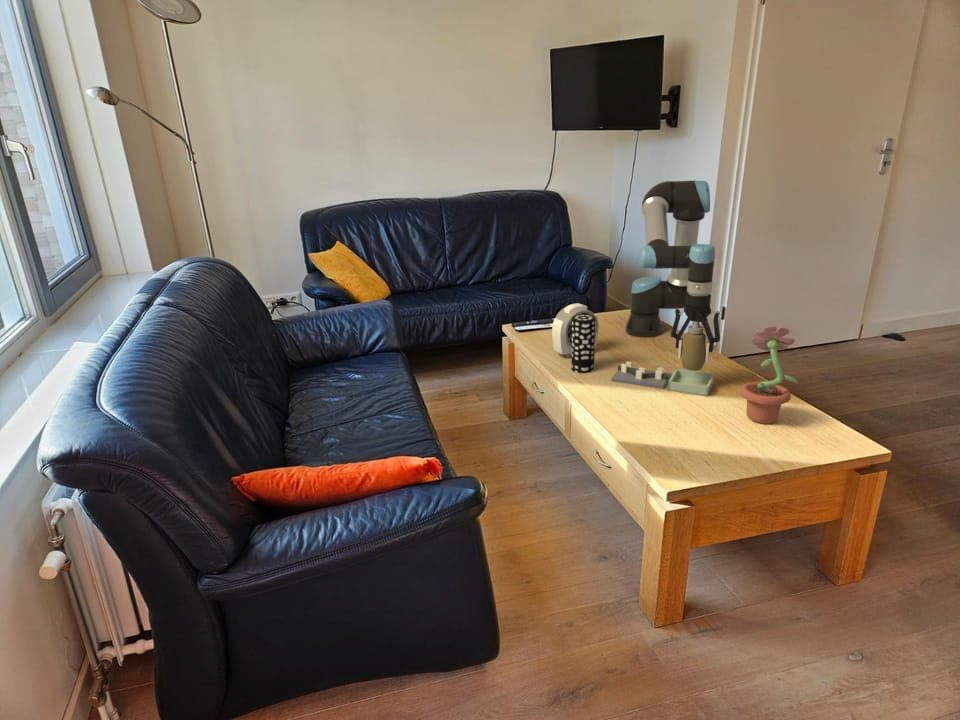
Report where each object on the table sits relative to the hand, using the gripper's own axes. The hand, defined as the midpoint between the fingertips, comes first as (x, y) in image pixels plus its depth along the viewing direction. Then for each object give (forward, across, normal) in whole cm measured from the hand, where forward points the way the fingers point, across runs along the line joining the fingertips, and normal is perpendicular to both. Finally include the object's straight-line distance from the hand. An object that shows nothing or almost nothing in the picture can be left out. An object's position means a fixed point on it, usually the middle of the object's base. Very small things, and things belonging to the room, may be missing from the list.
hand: (693, 359), depth 210 cm
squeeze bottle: (+3, 0, 0) cm, 3 cm away
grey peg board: (+10, -17, 0) cm, 20 cm away
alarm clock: (+10, -47, +15) cm, 50 cm away
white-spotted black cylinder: (+10, -39, +1) cm, 40 cm away
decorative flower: (+10, +24, -16) cm, 31 cm away
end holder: (+10, 0, 0) cm, 10 cm away
